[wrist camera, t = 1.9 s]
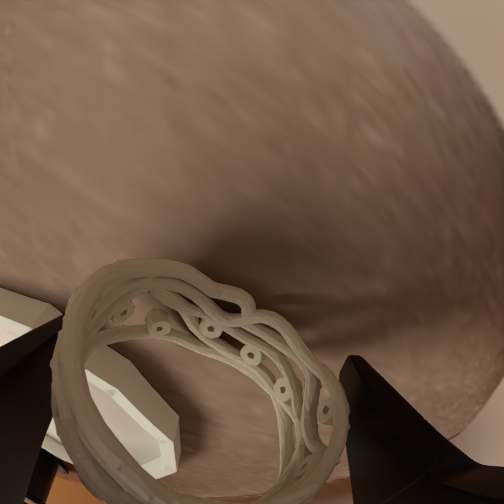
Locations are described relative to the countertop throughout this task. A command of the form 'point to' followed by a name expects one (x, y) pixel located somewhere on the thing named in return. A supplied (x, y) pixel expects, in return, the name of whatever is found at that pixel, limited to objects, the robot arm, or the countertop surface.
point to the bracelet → (208, 330)
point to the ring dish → (107, 393)
